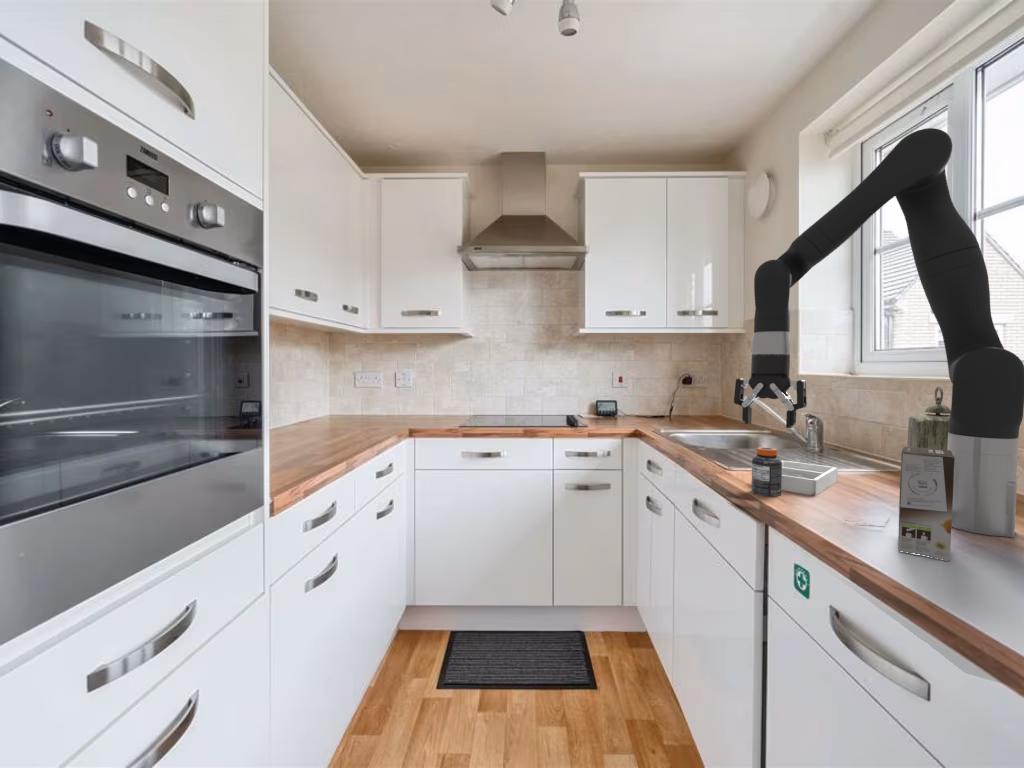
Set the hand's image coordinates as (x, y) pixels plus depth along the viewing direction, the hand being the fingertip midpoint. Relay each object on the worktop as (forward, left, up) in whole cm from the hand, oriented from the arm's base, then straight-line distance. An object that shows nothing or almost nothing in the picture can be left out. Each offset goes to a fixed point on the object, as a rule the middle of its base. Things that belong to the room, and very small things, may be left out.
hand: (767, 425), depth 107 cm
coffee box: (-28, +14, -17) cm, 35 cm away
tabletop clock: (-25, -47, -17) cm, 56 cm away
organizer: (-2, -16, -16) cm, 23 cm away
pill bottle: (0, 0, -17) cm, 17 cm away
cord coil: (-2, -11, -15) cm, 19 cm away
